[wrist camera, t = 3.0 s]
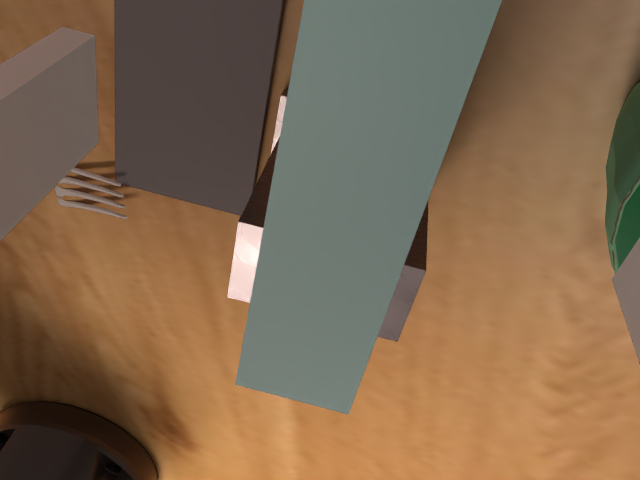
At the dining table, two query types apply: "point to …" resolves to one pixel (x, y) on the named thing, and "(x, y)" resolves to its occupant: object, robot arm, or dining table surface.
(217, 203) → the mat
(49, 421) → the robot arm
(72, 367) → the dining table surface
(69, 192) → the fork
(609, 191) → the green cup
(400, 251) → the rail
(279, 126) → the stand
